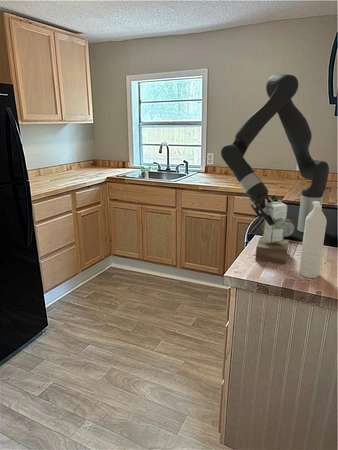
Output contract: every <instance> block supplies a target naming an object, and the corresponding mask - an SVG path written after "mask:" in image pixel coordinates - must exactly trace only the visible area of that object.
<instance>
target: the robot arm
mask: <svg viewBox="0 0 338 450" xmlns="http://www.w3.org/2000/svg"><path fill="white" fill-rule="evenodd" d="M298 90H299V79H298V78H297V77H296V76H295V75H293V74H288V73H286V74H285V73H277V74H273V75H271V76H269V78H268V79H267V81H266V86H265V91H266V94H267V96H268V100H267V101H266V102H265V103H264V104H263V105H262V106H261V107H260V108H259V109H258V110H256V111H255V112H254V113H252V114H251V115H250V116H249V117H248V118H247V119H246V120H245V121H244V123H243V124H242V125H241V126H240V128H239V129H238V131H237V132H236V134H235V138H234V141H233V143H228V144H225V145H223V146H222V148H221V151H220V156H221V158H222V160H223V161H224V163H225V164H226V165H227V166H228V167H229V169H230V170H231V171H232V173H233V175H234V176H235V178H236V180H237V181H238V183H239V184H240V186H241V188H242V190H243V191H244V193H245V194H246V195H247V197H248V198H249V201H251V202H252V203H251V204H250V207H251V208H252V209H253V211H254V212H255V214H256V215H257V217H258V218H262V219H263V220H264V219H265V220H266V221H267V223H268V224H269V225H270V226H271V225H273V224H274V223H275V222H274V220H273V219H272V218H271V216H270V215H269V213H268V209H269V208H268V204H267V203H271V202H280V201H279V199H278V198H277V196H275V195H271V196H270V195H269V188H267V187H266V185H265V183H264V182H263V181H262V180H261V178H260V176H259V175H258V174H257V173H256V172H255V170H254V169H253V168H252V166H251V165H250V164H249V163H248V161H246V158H245V157H244V156H245V154H246V152H247V150H248V148H249V147H250V145H251V144H252V142H253V141H254V139H256V137H257V136H258V135H259V134H260V132H261V131H262V130H263V129H264V127H265V126H266V125H267V124H268V122H269V121H271V119H272V118H273V117H275V115H278V117H279V118H278V119H279V120H280V122H281V125H282V127H283V130H284V132H285V136H286V137H287V140H288V142H289V144H290V146H291V148H292V151H293V154H294V158H295V159H296V163H297V167H298V170H299V173H300V175H301V177H302V178H303V179H304V180H307V181H311V185H309V186H308V187H304V188H302V190H301V195H300V203H299V205H300V206H299V211H298V220H297V221H298V222H297V231H299V232H300V233H304V228H305V220H306V217H307V216H308V215H309V213H310V212H311V211H312V210H313V207H314V205H312V203H313V201H318V202H320V205H321V206H322V207H323V199H324V194H325V192H326V189H327V184H328V183H327V182H328V178H329V173H330V167H329V164H328V162H326V161H324V160H317V159H313V158H312V156H311V153H310V150H309V149H310V145H311V141H312V138H313V137H312V131H311V128H310V126H309V125H310V124H309V123H308V121H307V119H306V118H305V116H304V115H303V113H302V112H301V111H300V110H299V109H298V108H297V107H296V105H295V103H294V102H293V99H292V98H294V96H295V95H296V93H297V92H298Z"/></svg>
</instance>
